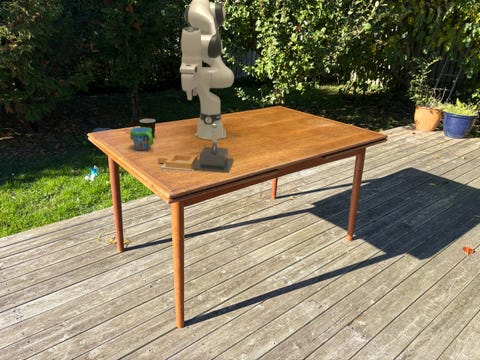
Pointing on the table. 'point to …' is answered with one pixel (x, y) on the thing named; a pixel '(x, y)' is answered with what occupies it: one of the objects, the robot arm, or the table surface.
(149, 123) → the coffee mug
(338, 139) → the table surface
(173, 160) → the orange handled frame
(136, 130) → the snack cup
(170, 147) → the table surface
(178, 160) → the mat
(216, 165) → the stand
